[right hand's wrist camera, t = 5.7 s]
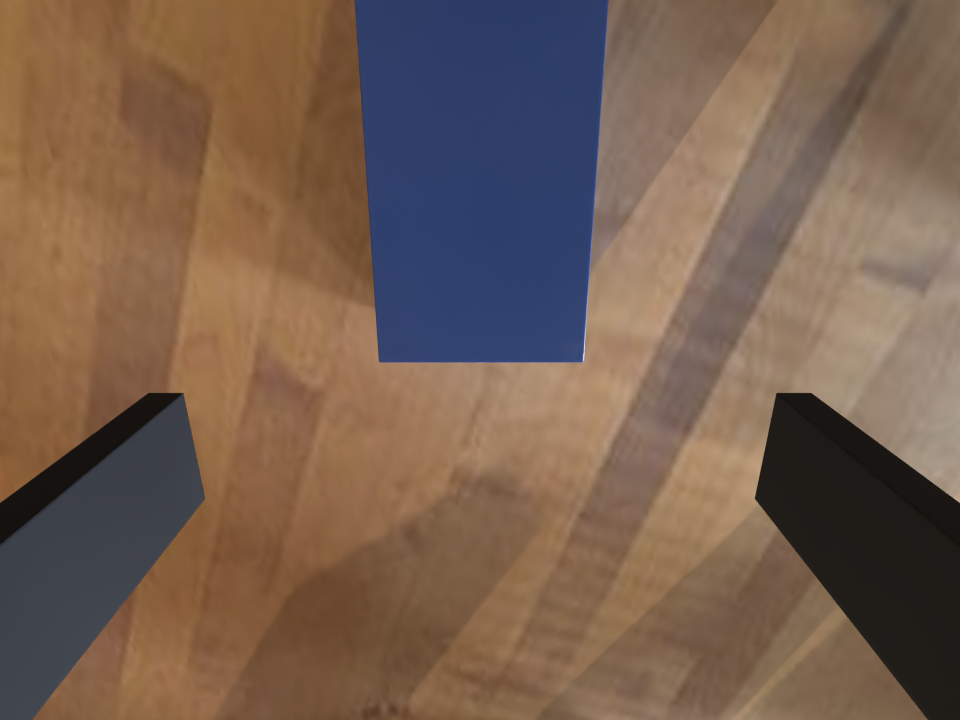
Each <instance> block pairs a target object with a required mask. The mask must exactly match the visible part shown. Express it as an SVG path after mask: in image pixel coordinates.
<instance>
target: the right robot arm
mask: <svg viewBox="0 0 960 720" xmlns="http://www.w3.org/2000/svg"><path fill="white" fill-rule="evenodd" d="M204 499H205V496H204V491H203V486H202V481H201V476H200V471H199V466H198V462H197V457H196V452H195V447H194V442H193V437H192V433H191V428H190V423H189V418H188V413H187V408H186V403H185V399H184V394H183V393H148V394H147V395H146V396H144V397H143V398H141V399H140V400H139V401H137V402H136V403H135V404H133V405H132V406H131V407H129V408H128V409H127V410H125V411H124V412H123V413H121V414H120V415H119V416H117V417H116V418H114V419H113V420H112V421H110V422H109V423H108V424H106V425H105V426H104V427H102V428H101V429H100V430H98V431H97V432H96V433H94V434H93V435H92V436H90V437H89V438H87V439H86V440H85V441H83V442H82V443H81V444H79V445H78V446H77V447H75V448H74V449H73V450H71V451H70V452H69V453H67V454H66V455H65V456H63V457H62V458H60V459H59V460H58V461H56V462H55V463H54V464H52V465H51V466H50V467H48V468H47V469H46V470H44V471H43V472H42V473H40V474H39V475H38V476H36V477H35V478H33V479H32V480H31V481H29V482H28V483H27V484H25V485H24V486H23V487H21V488H20V489H19V490H17V491H16V492H15V493H13V494H12V495H11V496H9V497H8V498H6V499H5V500H4V501H2V502H1V503H0V720H32V719H33V718H34V716H35V715H36V714H37V713H38V711H39V710H40V709H41V708H42V706H43V705H44V704H45V702H46V701H47V700H48V699H49V697H50V696H51V695H52V693H53V692H54V691H55V690H56V688H57V687H58V686H59V685H60V683H61V682H62V681H63V679H64V678H65V677H66V676H67V674H68V673H69V672H70V670H71V669H72V668H73V667H74V665H75V664H76V663H77V662H78V660H79V659H80V658H81V656H82V655H83V654H84V653H85V651H86V650H87V649H88V648H89V646H90V645H91V644H92V642H93V641H94V640H95V639H96V637H97V636H98V635H99V633H100V632H101V631H102V630H103V628H104V627H105V626H106V625H107V623H108V622H109V621H110V619H111V618H112V617H113V616H114V614H115V613H116V612H117V610H118V609H119V608H120V607H121V605H122V604H123V603H124V602H125V600H126V599H127V598H128V596H129V595H130V594H131V593H132V591H133V590H134V589H135V588H136V586H137V585H138V584H139V582H140V581H141V580H142V579H143V577H144V576H145V575H146V573H147V572H148V571H149V570H150V568H151V567H152V566H153V565H154V563H155V562H156V561H157V559H158V558H159V557H160V556H161V554H162V553H163V552H164V550H165V549H166V548H167V547H168V545H169V544H170V543H171V542H172V540H173V539H174V538H175V536H176V535H177V534H178V533H179V531H180V530H181V529H182V528H183V526H184V525H185V524H186V522H187V521H188V520H189V519H190V517H191V516H192V515H193V513H194V512H195V511H196V510H197V508H198V507H199V506H200V505H201V503H202V502H203V501H204ZM755 499H756V501H757V502H758V503H759V505H760V506H761V507H762V508H763V510H764V511H765V512H766V513H767V515H768V516H769V517H770V519H771V520H772V521H773V522H774V524H775V525H776V526H777V528H778V529H779V530H780V531H781V533H782V534H783V535H784V536H785V538H786V539H787V540H788V542H789V543H790V544H791V545H792V547H793V548H794V549H795V550H796V552H797V553H798V554H799V556H800V557H801V558H802V559H803V561H804V562H805V563H806V565H807V566H808V567H809V568H810V570H811V571H812V572H813V573H814V575H815V576H816V577H817V579H818V580H819V581H820V582H821V584H822V585H823V586H824V588H825V589H826V590H827V591H828V593H829V594H830V595H831V596H832V598H833V599H834V600H835V602H836V603H837V604H838V605H839V607H840V608H841V609H842V610H843V612H844V613H845V614H846V616H847V617H848V618H849V619H850V621H851V622H852V623H853V625H854V626H855V627H856V628H857V630H858V631H859V632H860V633H861V635H862V636H863V637H864V639H865V640H866V641H867V642H868V644H869V645H870V646H871V648H872V649H873V650H874V651H875V653H876V654H877V655H878V656H879V658H880V659H881V660H882V662H883V663H884V664H885V665H886V667H887V668H888V669H889V670H890V672H891V673H892V674H893V676H894V677H895V678H896V679H897V681H898V682H899V683H900V685H901V686H902V687H903V688H904V690H905V691H906V692H907V693H908V695H909V696H910V697H911V699H912V700H913V701H914V702H915V704H916V705H917V706H918V708H919V709H920V710H921V711H922V713H923V714H924V715H925V716H926V718H927V719H928V720H960V503H959V502H958V501H956V500H955V499H954V498H952V497H951V496H949V495H948V494H947V493H945V492H944V491H943V490H941V489H940V488H939V487H937V486H936V485H935V484H933V483H932V482H931V481H929V480H928V479H927V478H925V477H924V476H922V475H921V474H920V473H918V472H917V471H916V470H914V469H913V468H912V467H910V466H909V465H908V464H906V463H905V462H904V461H902V460H901V459H900V458H898V457H897V456H895V455H894V454H893V453H891V452H890V451H889V450H887V449H886V448H885V447H883V446H882V445H881V444H879V443H878V442H877V441H875V440H874V439H873V438H871V437H870V436H868V435H867V434H866V433H864V432H863V431H862V430H860V429H859V428H858V427H856V426H855V425H854V424H852V423H851V422H850V421H848V420H847V419H846V418H844V417H843V416H841V415H840V414H839V413H837V412H836V411H835V410H833V409H832V408H831V407H829V406H828V405H827V404H825V403H824V402H823V401H821V400H820V399H819V398H817V397H816V396H814V395H813V394H812V393H777V394H776V399H775V403H774V408H773V413H772V418H771V423H770V428H769V433H768V437H767V442H766V447H765V452H764V457H763V462H762V466H761V471H760V476H759V481H758V486H757V491H756V496H755Z"/></svg>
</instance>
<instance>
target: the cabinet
mask: <svg viewBox="0 0 960 720" xmlns="http://www.w3.org/2000/svg"><path fill="white" fill-rule="evenodd" d="M355 12H356V27H357V42H358V56H359V71H360V86H361V101H362V116H363V131H364V145H365V160H366V175H367V190H368V205H369V220H370V234H371V249H372V264H373V279H374V294H375V309H376V323H377V338H378V353H379V362H583V361H584V347H585V333H586V318H587V304H588V289H589V275H590V260H591V246H592V231H593V217H594V202H595V188H596V173H597V159H598V144H599V130H600V116H601V101H602V87H603V72H604V58H605V43H606V29H607V14H608V0H355Z"/></svg>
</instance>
